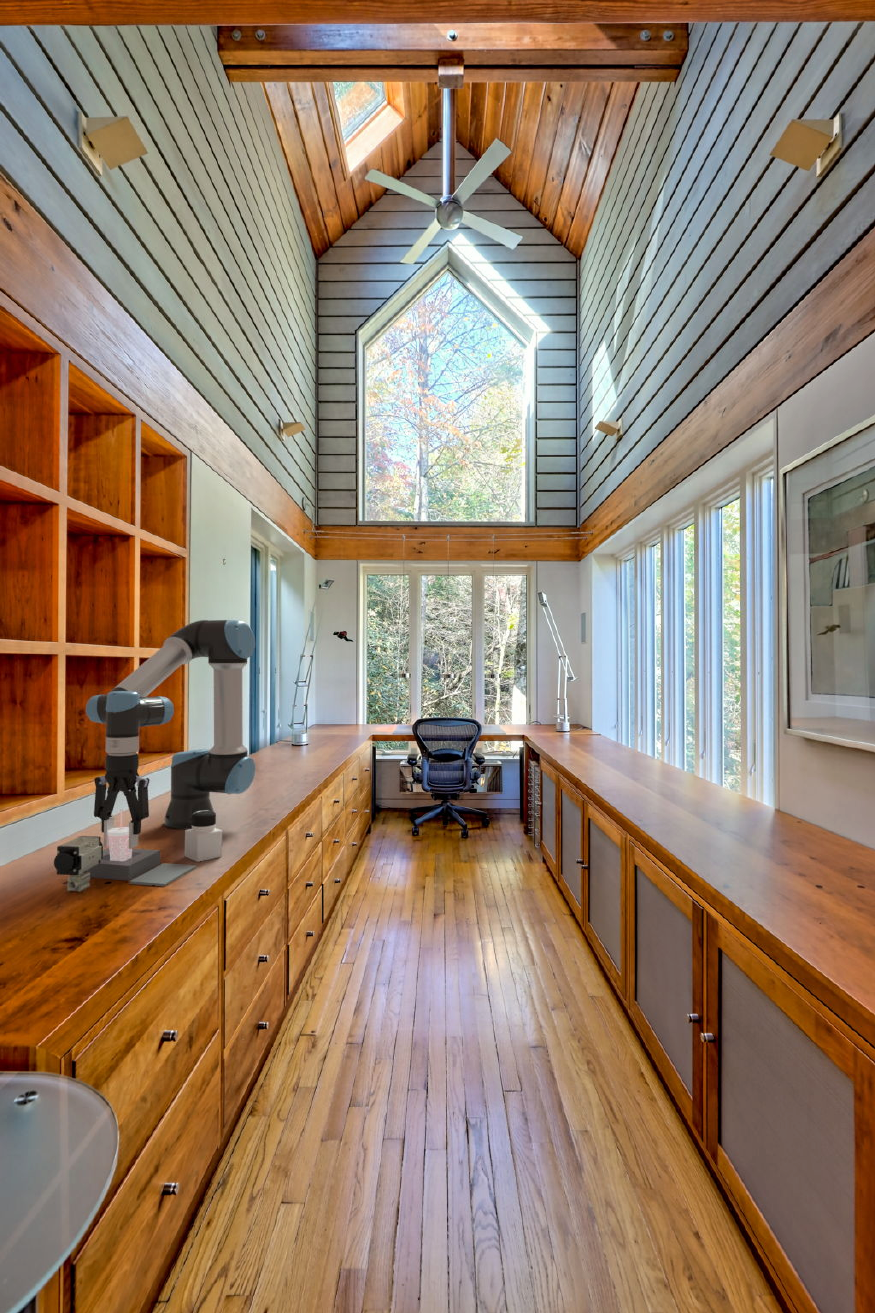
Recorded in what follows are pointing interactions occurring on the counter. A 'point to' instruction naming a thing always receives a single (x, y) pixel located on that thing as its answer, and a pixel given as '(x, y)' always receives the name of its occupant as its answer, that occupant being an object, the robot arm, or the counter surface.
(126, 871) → the socket block
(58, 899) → the counter surface
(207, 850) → the medicine bottle
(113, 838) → the beverage cup
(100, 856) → the pneumatic valve
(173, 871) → the rubber mat
